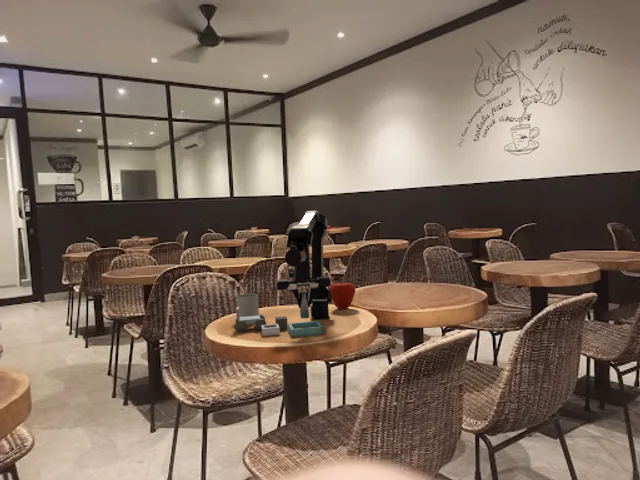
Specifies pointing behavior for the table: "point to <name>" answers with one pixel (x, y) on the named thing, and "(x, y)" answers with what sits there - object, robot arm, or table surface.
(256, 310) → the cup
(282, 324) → the dark grey cube
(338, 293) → the apple
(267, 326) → the socket
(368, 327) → the table surface
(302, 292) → the pin
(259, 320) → the trolley
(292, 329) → the tray
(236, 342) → the table surface
